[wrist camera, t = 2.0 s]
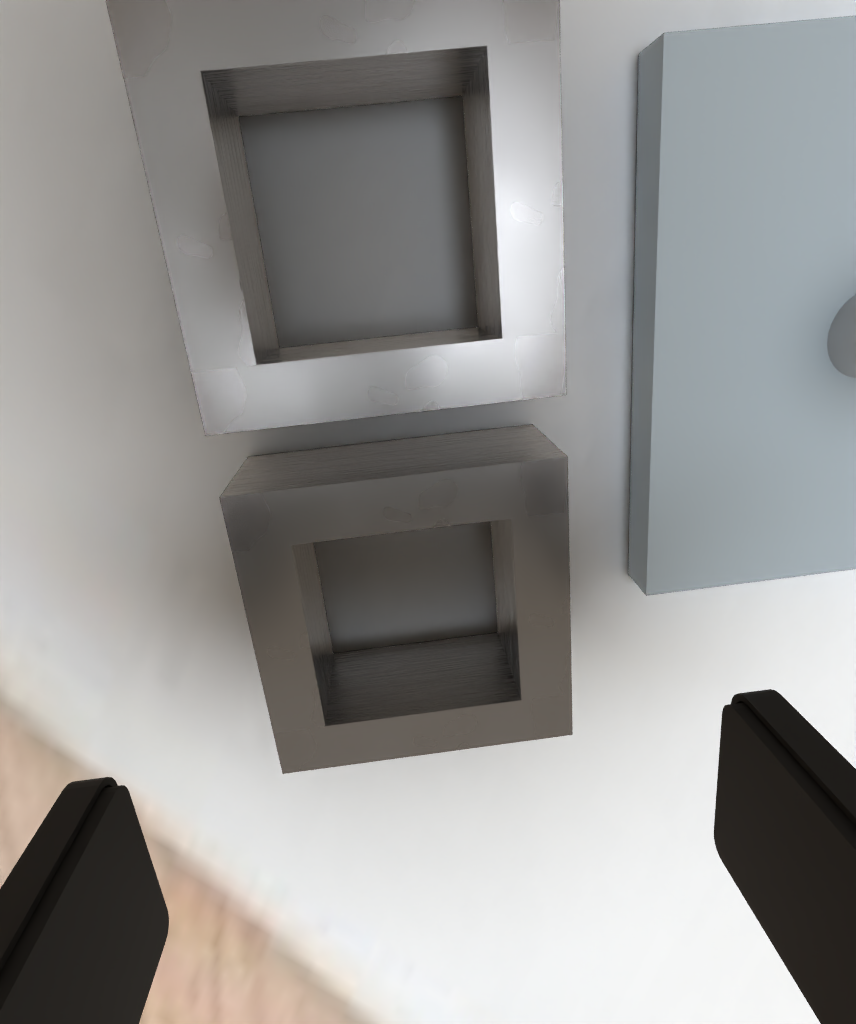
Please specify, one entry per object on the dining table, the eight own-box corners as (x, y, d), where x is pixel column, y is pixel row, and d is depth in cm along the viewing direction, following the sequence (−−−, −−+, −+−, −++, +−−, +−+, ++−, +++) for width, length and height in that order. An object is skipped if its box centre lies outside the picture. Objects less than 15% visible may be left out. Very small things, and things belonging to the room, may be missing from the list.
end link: (248, 456, 15) (219, 497, 12) (532, 424, 15) (567, 456, 13) (297, 695, 18) (283, 773, 15) (541, 663, 18) (572, 734, 15)
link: (164, 51, 12) (102, -16, 9) (517, 20, 13) (557, -54, 10) (237, 405, 15) (205, 435, 12) (530, 373, 15) (566, 395, 12)
